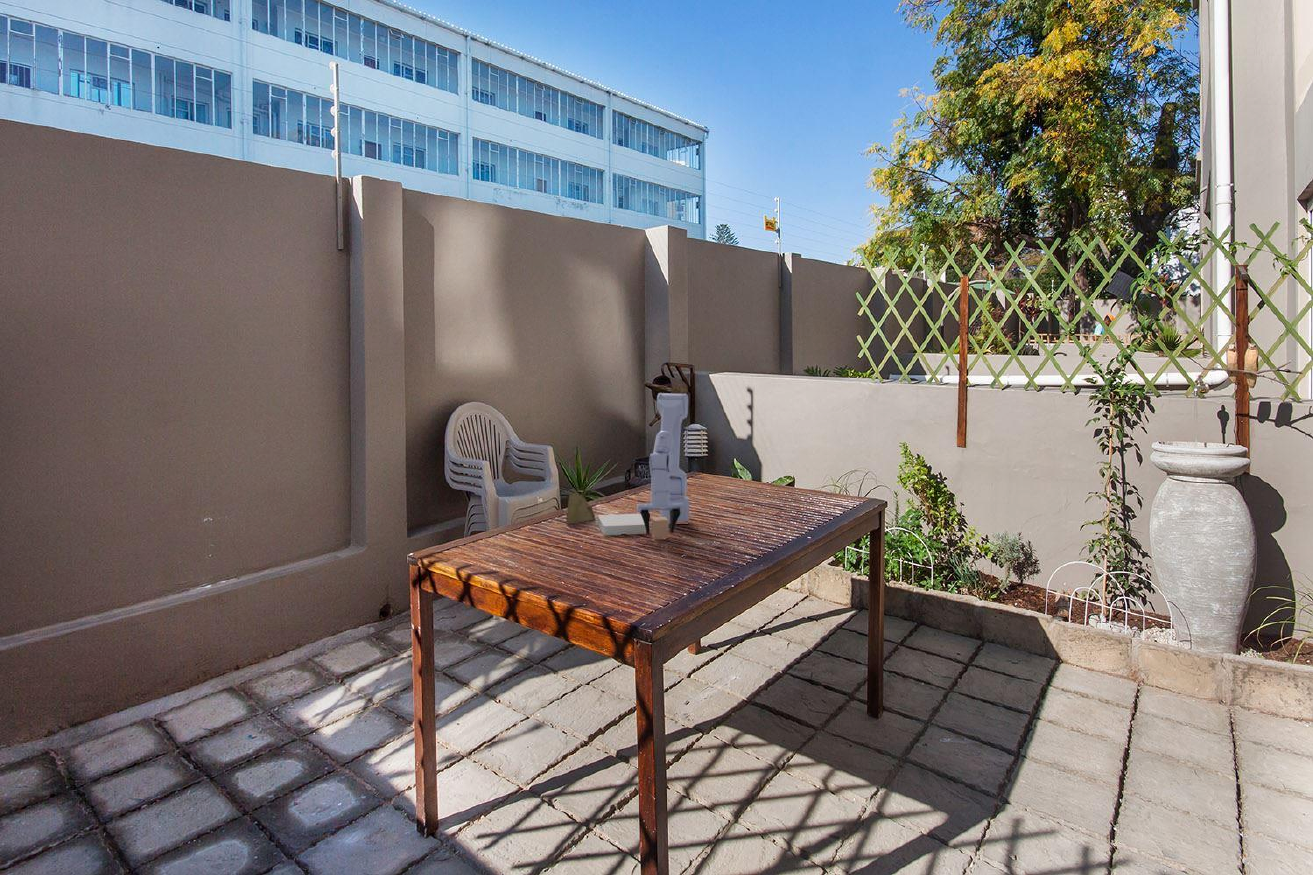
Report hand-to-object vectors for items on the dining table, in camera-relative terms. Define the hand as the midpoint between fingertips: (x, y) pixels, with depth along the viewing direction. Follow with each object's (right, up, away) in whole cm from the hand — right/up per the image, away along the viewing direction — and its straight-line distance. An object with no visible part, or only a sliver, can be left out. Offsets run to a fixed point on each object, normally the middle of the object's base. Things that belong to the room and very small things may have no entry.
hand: (659, 532), depth 229 cm
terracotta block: (0, -2, 0) cm, 2 cm away
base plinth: (-12, 0, +10) cm, 16 cm away
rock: (-27, +1, +20) cm, 33 cm away
